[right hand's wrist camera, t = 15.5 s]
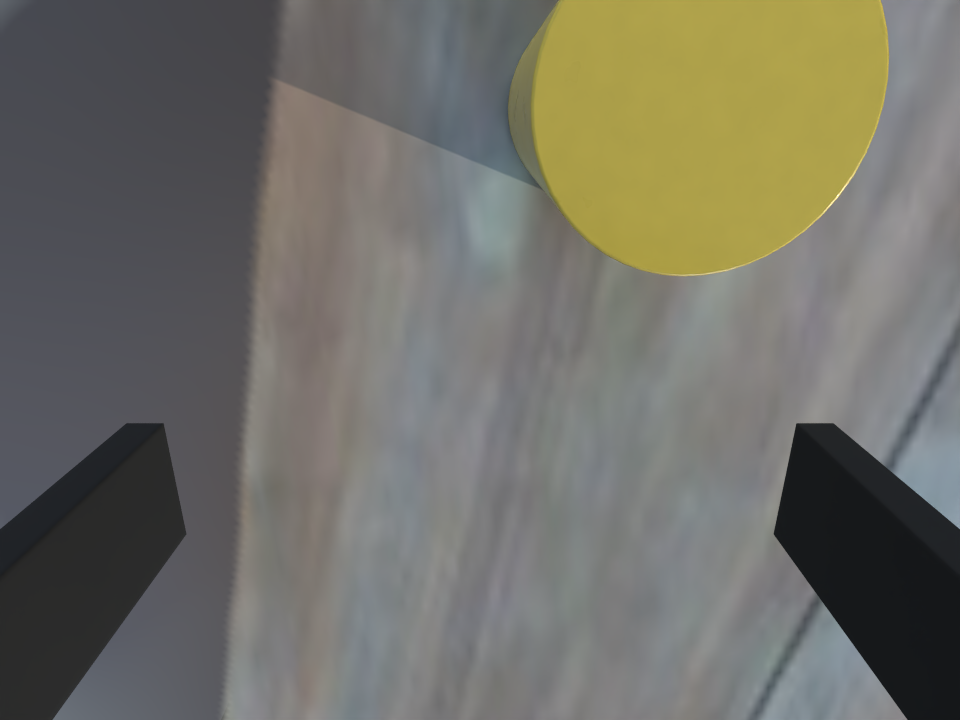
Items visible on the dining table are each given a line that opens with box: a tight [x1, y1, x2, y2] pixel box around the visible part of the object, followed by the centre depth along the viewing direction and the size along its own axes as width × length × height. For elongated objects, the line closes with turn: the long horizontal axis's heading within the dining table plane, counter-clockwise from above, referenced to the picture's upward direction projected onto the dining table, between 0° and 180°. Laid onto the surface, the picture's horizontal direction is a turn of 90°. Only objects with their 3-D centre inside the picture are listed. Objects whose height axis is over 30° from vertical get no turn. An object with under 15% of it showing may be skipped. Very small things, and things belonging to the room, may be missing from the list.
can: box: [508, 0, 889, 276], centre depth 19 cm, size 8×8×12 cm
